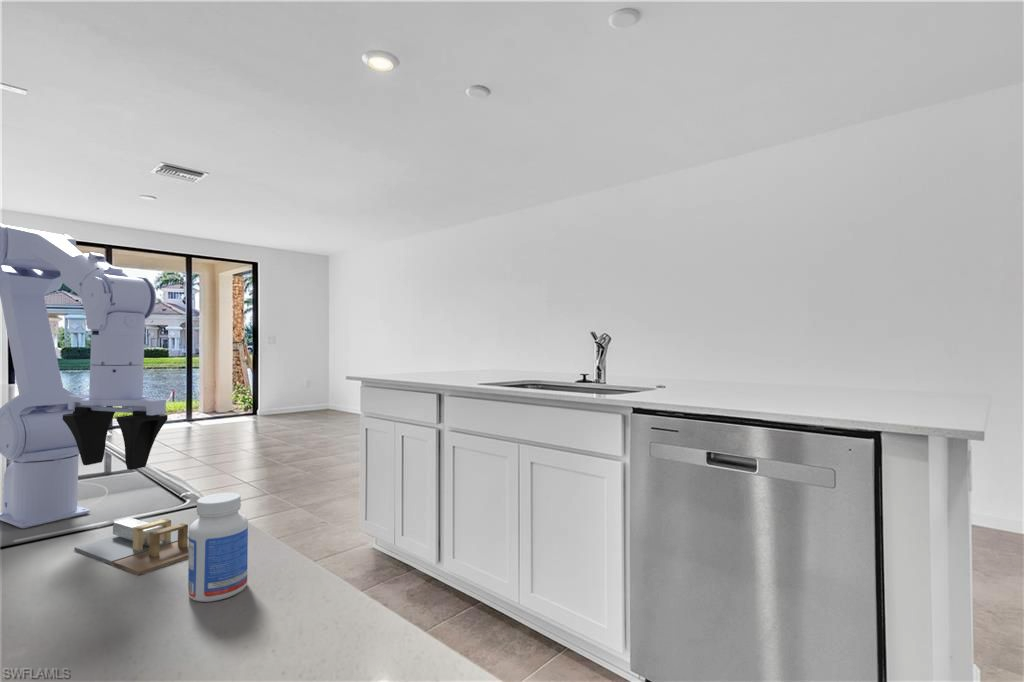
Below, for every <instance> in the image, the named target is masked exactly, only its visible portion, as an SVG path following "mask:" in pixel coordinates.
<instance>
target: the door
mask: <svg viewBox="0 0 1024 682" xmlns="http://www.w3.org/2000/svg"><path fill="white" fill-rule="evenodd" d="M156 526H160V527H164V528H167V527H170V526H172V519H169V518H162V519H159V520H156V521H152V522H147V524H144V525H140V526H136V527H133V541H132V540H129V539H126V538H123V537H120V536H117V535H113V536H110V537H106V538H101V539H98V540H95V541H91V542H89V543H85V544H81V545H77V546H74V549H73V550H74V551H75V552H77V553H80V554H83V555H84V556H88V557H90V558H93V559H96V560H99V561H100V562H103V563H106V564H108V565H113V562H115V561H118V560H121V559H124V558H127V557H131V556H134V555H137V554H140V553H143V552H146V551H149V545H148V546H147V545H144V544H143V530H146V529H149V528H153V527H156ZM188 538H189V531H188ZM175 542H178V530H176V531H173V532H169V533H166V534H164V541H161V542H160V547H162V546H165V545H169V544H172V543H175Z"/></svg>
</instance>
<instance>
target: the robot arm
mask: <svg viewBox="0 0 1024 682" xmlns="http://www.w3.org/2000/svg"><path fill="white" fill-rule="evenodd" d="M63 284H64V285H65V286H66V287H67V288H68V289H70V290H71V291H72V292H74V293H75V295H77V296H78V297H80V298H81V304H82V308H83V311H84V313H85V318H86V319H85V320H86V322H85V325H86V329H88V330H90V334H91V335H90V357H89V358H90V360H89V363H90V364H89V388H88V389H89V390H88V391H89V393H88V394H84V393H83V394H77V393H74V392H72V391H70V390H68V389H67V388H64V386H63V380H62V376H61V372H60V366H59V361H58V356H57V352H56V347H55V342H54V337H53V333H52V329H51V323H50V319H49V313H48V309H47V304H46V300H45V299H46V298H45V295H48V294H50V293H52V292H56V291H58V290H60V289H61V288H62V285H63ZM0 303H1V308H2V312H3V317H4V323H5V328H6V332H7V339H8V345H9V348H10V354H11V358H12V359H11V360H12V365H13V369H14V375H15V381H16V385H17V390H18V394H17V395H16V396H15V397H13V398H12V399H10V400H9V401H7V402H6V403H5V404H3V405H2V406H1V407H0V455H1V456H3V457H4V458H5V459H7V460H9V461H12V462H10V464H9V465H8V466H7V467H6V469H5V471H4V474H3V497H2V498H3V499H2V500H3V501H2V503H3V504H2V512H0V521H1V522H4V523H7V524H10V525H13V526H15V527H17V528H20V529H25V528H30V527H31V528H32V527H34V526H38V525H39V526H40V525H42V524H47V523H52V522H56V521H60V520H65V519H69V518H73V517H78V516H81V515H85V514H89V513H90V512H91V510H90V509H89V508H86V507H82V506H79V505H78V497H79V496H78V490H79V482H78V481H79V457H80V460H81V462H82V466H90V465H95V464H99V463H103V460H104V456H105V451H106V443H107V442H106V441H107V435H108V431H109V429H110V428H109V427H110V425H111V422H112V420H113V417H114V416H115V413H128V414H130V415H124V416H123V415H122V416H117V417H116V422H117V424H118V426H119V429H120V431H121V435H122V438H123V443H124V456H125V458H124V460H125V466H126V470H128V471H134V470H137V469H142V468H146V465H147V462H148V460H149V456H150V454H151V451H152V448H153V445H154V443H155V440H156V439H157V437H158V434H159V433H160V431H161V429H162V428H163V426H164V425H165V424H166V422H167V421H168V419H169V418H168V414H166V413H167V412H166V407H167V404H166V402H167V399H164V398H156V397H150V396H145V395H144V394H143V393H144V367H145V366H144V364H145V362H144V361H145V333H146V319H148V318H150V316H151V315H152V314H153V312H154V310H155V307H156V303H157V293H156V290H155V287H154V285H153V283H152V282H151V281H150V280H149V279H148V277H139V276H138V277H131V276H129V275H127V274H126V273H125V272H123V269H122V268H120V267H119V266H113V265H112V264H110V262H108V261H106V256H105V255H104V254H102V253H97V252H92V251H90V252H89V253H83V252H81V251H80V250H79V249H78V248H77V241H76V239H75V238H73V237H71V235H69V234H65V233H62V234H58V233H53V232H47V231H41V230H36V229H28V228H25V227H18V226H11V225H6V224H2V223H0ZM131 414H132V415H131Z"/></svg>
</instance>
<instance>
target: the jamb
mask: <svg viewBox="0 0 1024 682" xmlns="http://www.w3.org/2000/svg"><path fill="white" fill-rule="evenodd" d="M188 526H189V525H188V524H187V523H184V522H182V523H178V524H175V525H171V526H170V527H167V528H163V529H160V530H156V531H153V532H150V542H149V551H146V552H143V553H140V554H137V555H134V556H131V557H127V558H124V559H121V560H118V561H115V562H113V564H112V565H113V566H114V567H116V568H119V569H121V570H124V571H126V572H129V573H132V574H134V575H137V576H141V575H144V574H147V573H150V572H153V571H155V570H158V569H161V568H164V567H167V566H169V565H173V564H175V563H178V562H179V563H180V561H184V560H187V559H189V538H188V532H189V527H188ZM176 530H178V542H175V543H172V544H169V545H165V546H162V547H160V535H163V534H166V533H169V532H173V531H176Z"/></svg>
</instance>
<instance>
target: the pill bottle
mask: <svg viewBox="0 0 1024 682" xmlns="http://www.w3.org/2000/svg"><path fill="white" fill-rule="evenodd" d="M241 503H242V501H241V495H240V493H236V492H220V493H212V494H208V495H205V496H202V497H200V498H198V499H197V500H196V514H197V516H199V518H197V519H195V520H194V521H193V522H192V523H191V524H190V526H189V527H188V532H189V558H188V565H187V566H188V568H187V569H188V570H187V572H188V575H187V577H188V580H187V582H188V583H187V585H188V586H187V587H188V597H189V598H190V599H191V600H193V601H196V602H201V603H202V602H204V603H209V602H216V601H221V600H225V599H228V598H230V597H233V596H235V595H238V594H239V593H241V592H242V591H243V590H244V589H245V588H246V587H247V584H248V560H249V559H248V558H249V557H248V548H249V547H248V544H249V543H248V542H249V541H248V540H249V538H248V537H249V536H248V535H249V524H248V523H249V521H248V520H249V519H248V518H247V516H246V515H244V514H243V513H240V512H239V510H241V507H242V504H241Z"/></svg>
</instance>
